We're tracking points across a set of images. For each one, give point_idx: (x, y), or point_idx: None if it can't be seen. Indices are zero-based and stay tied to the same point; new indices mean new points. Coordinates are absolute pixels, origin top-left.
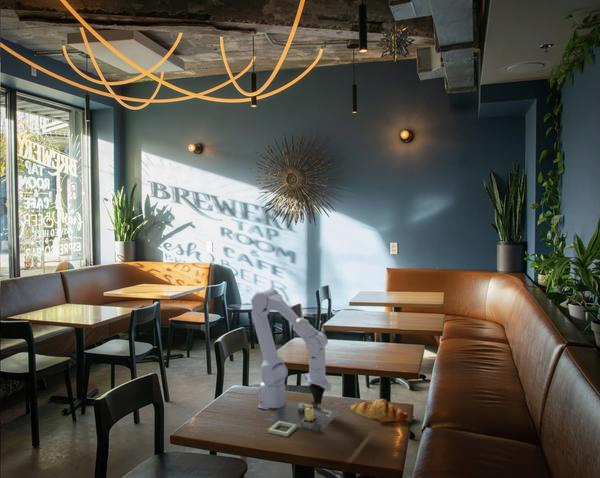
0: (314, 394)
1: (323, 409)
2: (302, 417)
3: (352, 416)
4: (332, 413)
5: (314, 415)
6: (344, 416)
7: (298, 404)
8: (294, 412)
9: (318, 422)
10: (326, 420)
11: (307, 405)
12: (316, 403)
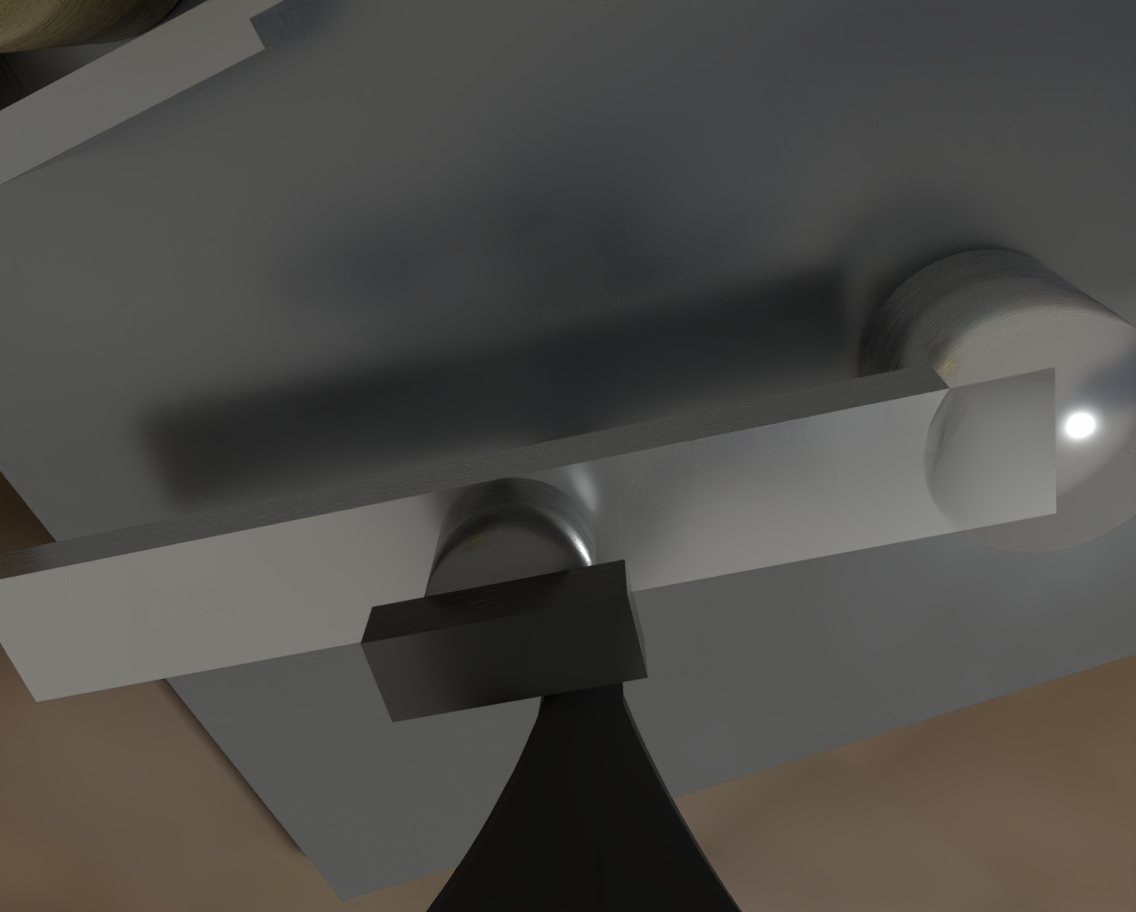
0: (510, 900)
1: (254, 627)
2: (651, 92)
3: (147, 900)
4: (348, 739)
5: (525, 416)
6: (225, 824)
7: (1107, 324)
8: (1079, 133)
9: (108, 225)
10: (114, 447)
11: (809, 485)
12: (390, 631)
